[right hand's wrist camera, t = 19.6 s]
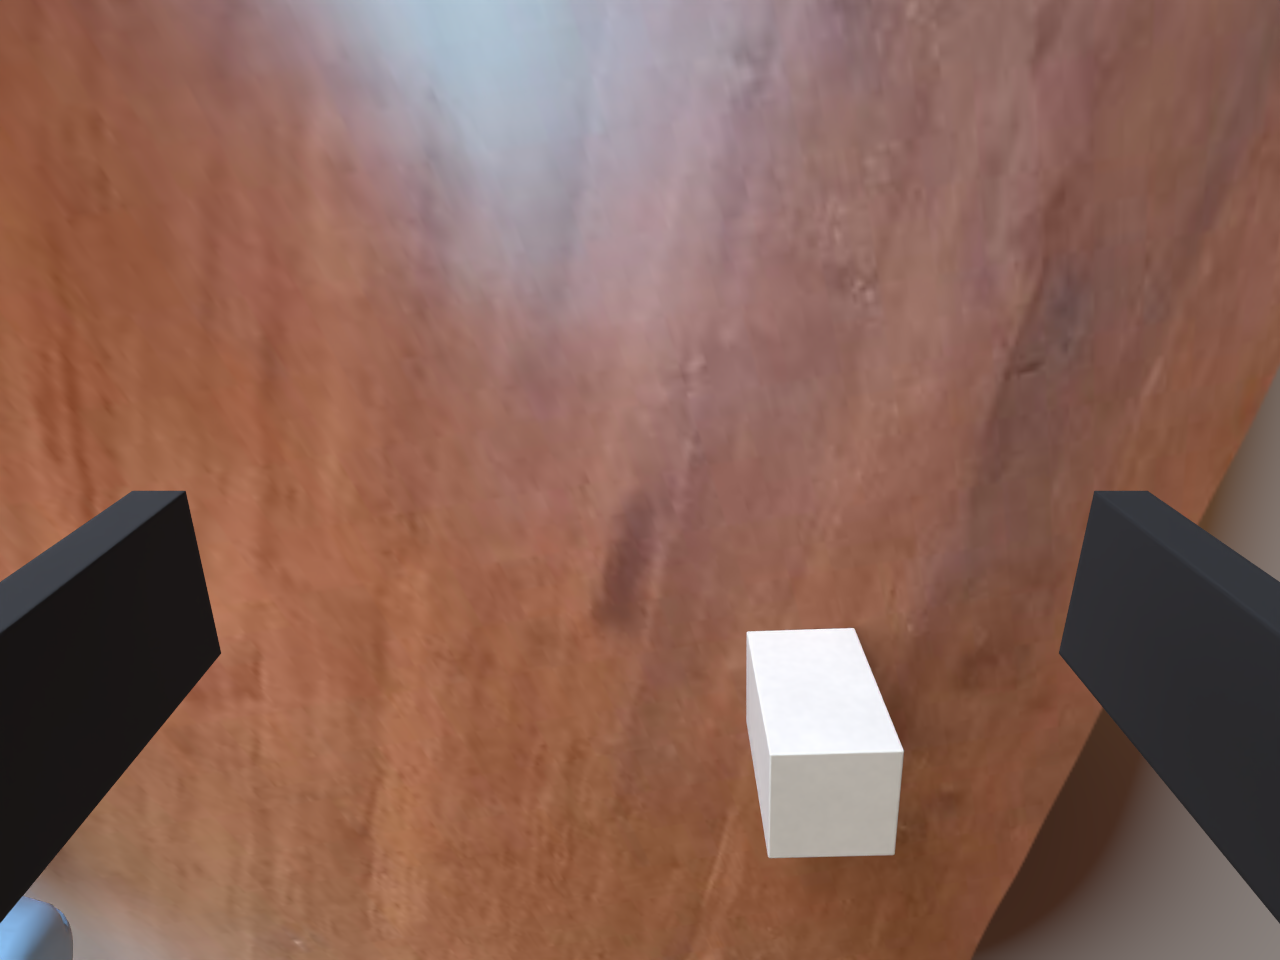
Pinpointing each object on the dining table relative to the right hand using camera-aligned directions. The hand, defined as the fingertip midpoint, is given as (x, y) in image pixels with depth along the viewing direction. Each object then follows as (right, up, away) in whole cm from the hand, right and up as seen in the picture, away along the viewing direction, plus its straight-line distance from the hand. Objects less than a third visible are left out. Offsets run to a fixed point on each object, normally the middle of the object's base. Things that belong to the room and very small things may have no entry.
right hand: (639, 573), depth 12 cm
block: (+9, -10, +36) cm, 38 cm away
